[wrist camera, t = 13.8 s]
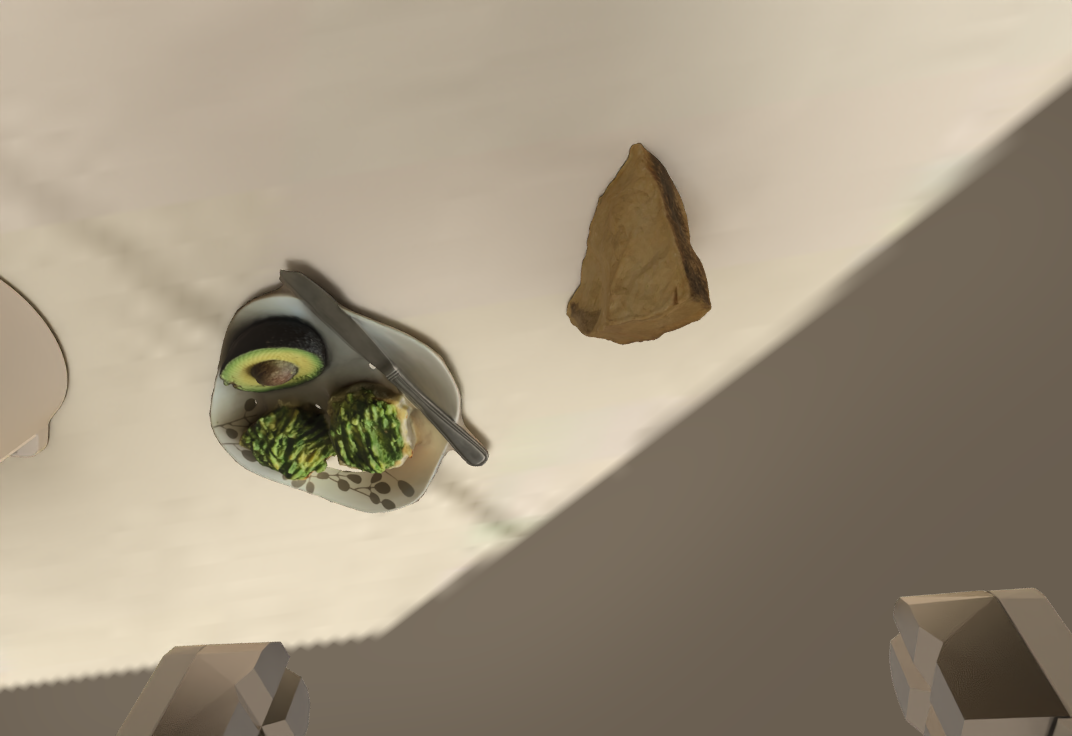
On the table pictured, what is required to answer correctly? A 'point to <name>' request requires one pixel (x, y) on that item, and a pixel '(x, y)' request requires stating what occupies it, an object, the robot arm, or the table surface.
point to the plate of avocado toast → (335, 400)
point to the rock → (639, 259)
